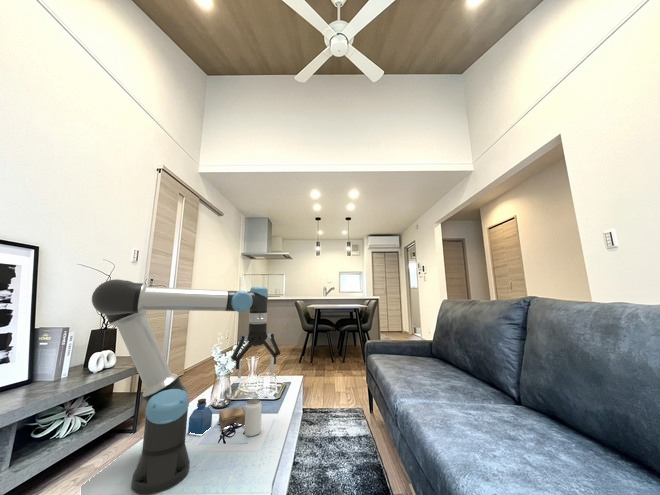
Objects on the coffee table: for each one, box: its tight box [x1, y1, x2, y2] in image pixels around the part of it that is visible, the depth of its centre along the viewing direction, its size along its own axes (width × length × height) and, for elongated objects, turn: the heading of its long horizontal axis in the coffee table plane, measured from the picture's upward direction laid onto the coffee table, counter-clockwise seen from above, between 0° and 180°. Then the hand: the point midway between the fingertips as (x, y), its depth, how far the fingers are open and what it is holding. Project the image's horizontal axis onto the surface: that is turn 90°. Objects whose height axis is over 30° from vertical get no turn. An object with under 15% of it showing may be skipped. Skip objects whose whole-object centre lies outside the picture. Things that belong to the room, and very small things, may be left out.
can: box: [243, 397, 263, 438], centre depth 110 cm, size 6×6×12 cm
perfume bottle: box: [187, 398, 213, 434], centre depth 111 cm, size 6×6×12 cm
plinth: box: [218, 406, 245, 429], centre depth 117 cm, size 10×10×4 cm
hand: (255, 375), depth 112 cm, fingers open, 13 cm apart
